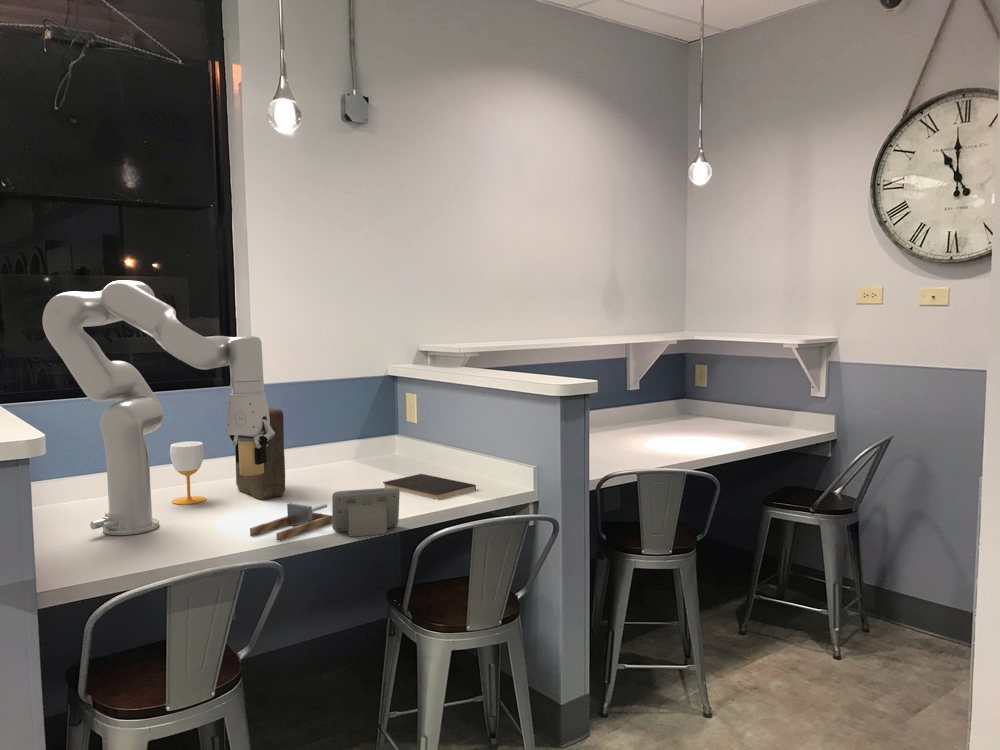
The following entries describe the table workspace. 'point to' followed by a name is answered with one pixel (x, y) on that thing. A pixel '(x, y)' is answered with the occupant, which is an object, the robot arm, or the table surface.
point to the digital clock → (365, 511)
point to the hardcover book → (429, 486)
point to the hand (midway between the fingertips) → (251, 461)
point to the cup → (187, 466)
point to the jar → (248, 457)
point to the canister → (268, 465)
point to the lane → (316, 522)
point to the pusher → (301, 513)
